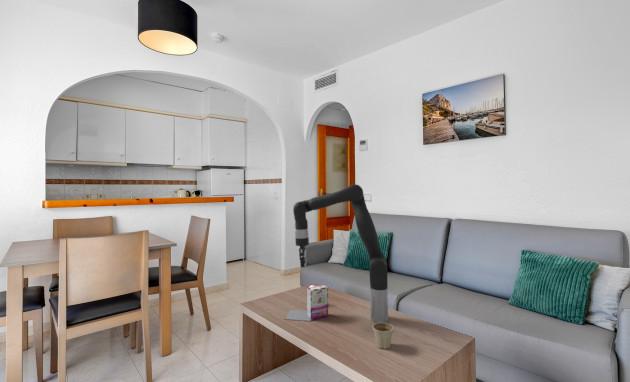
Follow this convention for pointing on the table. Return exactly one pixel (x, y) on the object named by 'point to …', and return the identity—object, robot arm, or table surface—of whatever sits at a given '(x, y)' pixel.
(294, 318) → the mat
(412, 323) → the table surface
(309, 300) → the candy bar box
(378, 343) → the flower pot
